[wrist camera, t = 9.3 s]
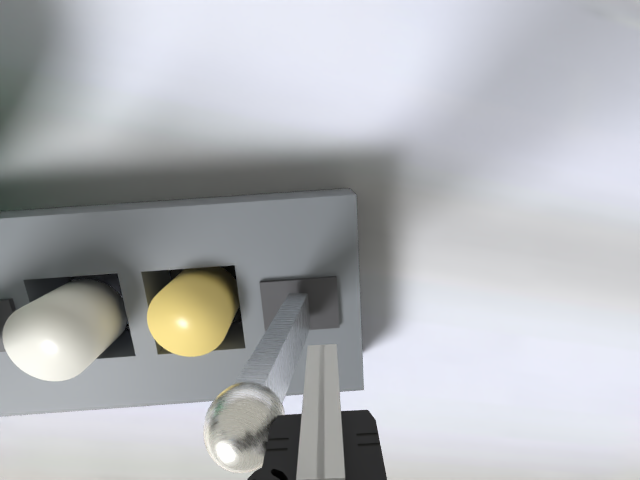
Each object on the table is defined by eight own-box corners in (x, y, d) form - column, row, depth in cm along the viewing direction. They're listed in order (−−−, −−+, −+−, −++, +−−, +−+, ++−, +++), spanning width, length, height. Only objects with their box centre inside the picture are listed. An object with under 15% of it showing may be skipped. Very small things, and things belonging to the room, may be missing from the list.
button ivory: (63, 347, 24) (16, 384, 20) (44, 281, 23) (-9, 307, 19) (134, 342, 24) (101, 378, 21) (119, 275, 23) (81, 300, 19)
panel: (16, 382, 28) (-35, 422, 24) (-39, 214, 25) (-109, 226, 21) (356, 357, 29) (364, 392, 24) (349, 188, 25) (357, 195, 21)
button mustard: (178, 328, 26) (154, 359, 22) (166, 265, 25) (139, 286, 21) (244, 323, 26) (232, 353, 22) (236, 260, 25) (222, 280, 21)
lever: (279, 331, 23) (194, 490, 12) (275, 288, 22) (180, 418, 11) (324, 332, 22) (276, 498, 12) (321, 288, 21) (267, 424, 11)
